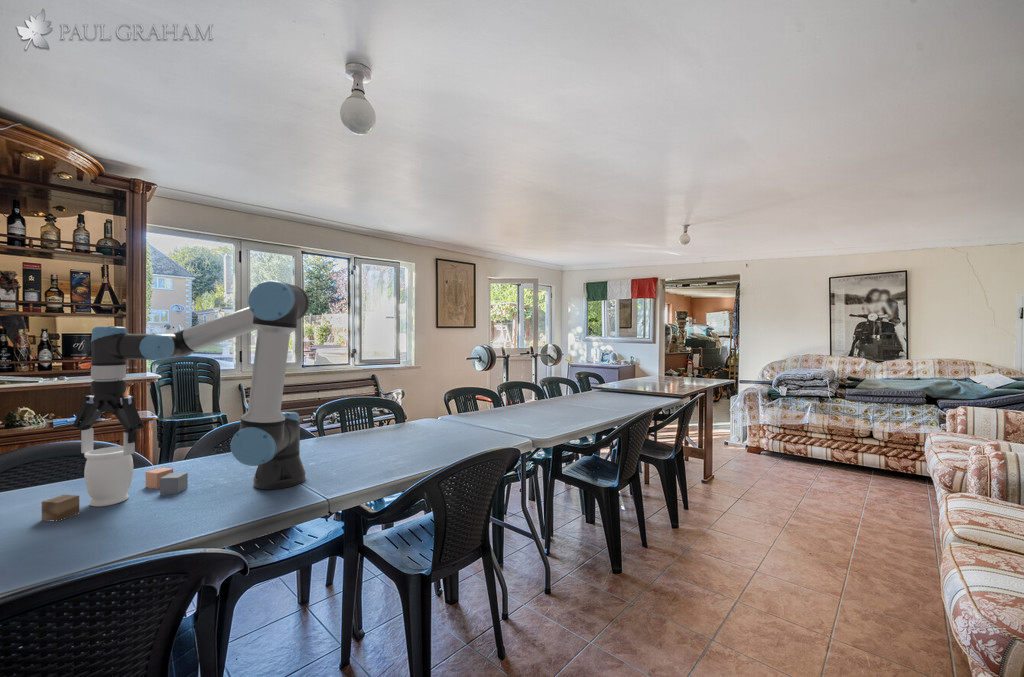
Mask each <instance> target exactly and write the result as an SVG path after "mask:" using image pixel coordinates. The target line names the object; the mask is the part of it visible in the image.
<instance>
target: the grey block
mask: <svg viewBox="0 0 1024 677" xmlns="http://www.w3.org/2000/svg"><path fill="white" fill-rule="evenodd" d="M188 475H189V474H188V472H173V473H170V474H168V475H166V476H164V477H162V478H160V488H159V494H161V495H176V494H177V495H178V493H179V494H181V493H182V492H183V490H184V491H185V490H187V489H188V488H189V487H188V486H189V485H188V484H189V483H188V481H189V480H188V478H189V477H188ZM181 491H182V492H181Z"/></svg>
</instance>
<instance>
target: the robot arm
mask: <svg viewBox="0 0 1024 677" xmlns="http://www.w3.org/2000/svg"><path fill="white" fill-rule="evenodd" d="M247 302H248V303H247V304H248V307H246V308H241V309H239V310H236V311H234V312H231V313H228V314H224V315H223V316H220V317H219V316H218V317H217V318H214V319H210V320H207V321H205V322H202V323H200V324H195V325H194V326H191V327H188V328H185V329H182V330H179V331H177V332H176V331H175V332H173V333H128V331H127V328H126V327H125V326H98V325H97V326H95V327H93V328H92V330H91V338H90V339H91V340H90V348H91V352H90V353H91V363H90V364H91V365H90V380H92V381H91V382H90V393H91V395H85V396H83V397H82V398H83V399H82V404H81V406H80V408H79V410H78V413H77V415H76V417H75V419H74V422H73V424H72V427H73V428H78V430H79V439H80V446H81V447H80V448H81V449H80V451H81V452H80V453H81V454H85V453H86V452H89V451H92V450H94V441H95V440H94V439H95V438H94V434H95V431H94V427H93V426H94V424H95V423H96V421H97V420H98V419H99V418H100V416H101V415H102V414H103V413H108V414H109V413H110V414H112V415H114V416H115V417H116V418H117V420H118V421H119V423H120V424H121V426H122V427H123V428H124V432H123V442H122V444H123V445H122V446H123V455H129V454H131V455H132V454H136V442H137V434H138V432H137V431H139V430H143V429H144V423H143V420H142V419H141V416H140V414H139V412H138V409H137V407H136V405H135V399H134V396H128V397H127V396H126V397H124V393H126V391H127V381H126V380H125V379H126V377H127V360H138V361H139V360H140V361H141V360H143V361H144V360H145V361H147V360H149V361H160V360H161V361H162V360H167V359H171V358H185V357H188V356H190V355H192V354H194V353H195V352H197V351H198V350H202V349H205V348H207V347H211V346H213V345H216V344H219V343H223V342H225V341H229V340H231V339H233V338H236V337H240V336H242V335H246V334H249V333H251V332H254V331H257V332H256V340H255V341H256V344H255V352H254V359H253V366H252V367H253V368H252V374H251V375H252V376H251V383H250V391H249V399H248V407H247V411H246V412H245V413H244V414H243V415H241V417H240V424H239V430H238V431H236V432H235V434H234V435H233V436H232V439H231V441H230V451H231V454H232V456H233V457H234V458H235V459H236V460H237V461H238V462H239V463H240V464H242V465H245V466H247V467H248V466H250V467H256V466H257V468H256V470H255V474H254V477H253V487H254V488H256V489H258V490H280V489H284V488H285V489H286V488H290V487H294V486H296V485H299V484H301V483H303V482H304V481H305V480H306V470H305V467H304V465H303V462H302V460H301V457H300V456H301V455H300V452H301V450H300V448H301V447H300V445H301V444H300V443H301V442H300V440H301V439H300V436H301V435H300V434H301V432H300V431H301V425H300V424H301V421H300V415H299V413H298V412H297V411H281V410H282V403H283V394H284V386H285V380H286V378H285V377H286V370H287V360H288V355H289V347H290V346H289V345H290V339H291V338H290V336H291V334H292V333H293V332H294V331H296V329H297V328H298V320H300V319H302V318H304V317H305V316H306V315H307V313H308V312H309V310H310V298H309V296H308V294H307V293H306V292H305V290H304V289H303V288H302V287H299V286H297V285H294V284H290V283H287V282H285V281H282V280H281V281H280V280H265V281H261V282H260V283H258V284H256V286H254V287H253V288H252V289H251V291H250V292H249V295H248V301H247Z"/></svg>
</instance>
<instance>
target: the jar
mask: <svg viewBox="0 0 1024 677" xmlns="http://www.w3.org/2000/svg"><path fill="white" fill-rule="evenodd" d="M83 456H84V458H85V459H86V461H85V464H84V465H85V466H84V472H83V474H84V475H83V476H84V483H85V486H86V492H87V494H88V495H89V497H90V498H91V500H90V502H89V506H90V507H97V508H98V507H106V506H107V507H108V506H112V505H116V504H119V503H123V502H125V501H126V500H127V499H129V497H130V496H129V493H128V492H129V489H130V488H131V484H132V479H133V474H134V461H133V456H132V454H129V455H123V445H119V446H118V445H117V446H107V447H101V448H98V449H97V448H96V449H93V450H92V451H89V452H86V453H83Z"/></svg>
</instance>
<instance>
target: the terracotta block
mask: <svg viewBox="0 0 1024 677" xmlns="http://www.w3.org/2000/svg"><path fill="white" fill-rule="evenodd" d="M170 473H174V468H170V467H164V466H163V467H158V468H154V469H151V470H147V471H145V488H147V487H149V488H148V489H154V488H155V489H156V490H158V489H160V478H162V477H164V476H166V475H168V474H170Z"/></svg>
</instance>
